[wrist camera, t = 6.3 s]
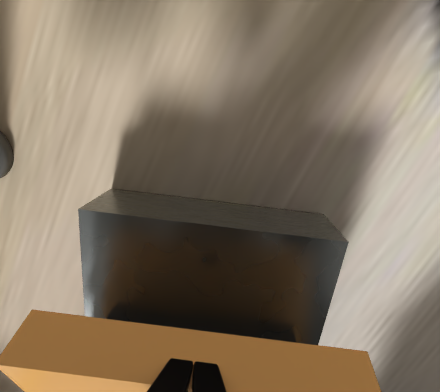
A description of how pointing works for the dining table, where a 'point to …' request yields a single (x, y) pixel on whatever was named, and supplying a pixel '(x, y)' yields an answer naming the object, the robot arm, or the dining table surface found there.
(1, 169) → the post
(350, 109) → the dining table surface
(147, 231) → the block
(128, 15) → the dining table surface
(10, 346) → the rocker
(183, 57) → the dining table surface
